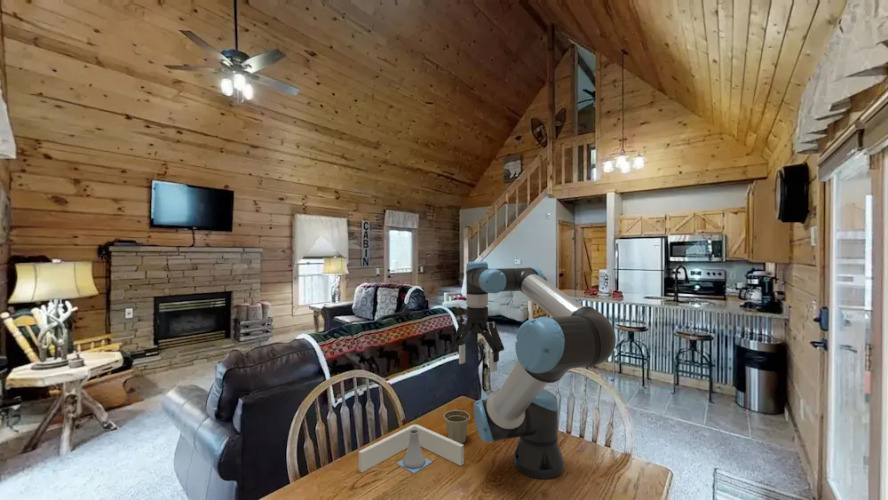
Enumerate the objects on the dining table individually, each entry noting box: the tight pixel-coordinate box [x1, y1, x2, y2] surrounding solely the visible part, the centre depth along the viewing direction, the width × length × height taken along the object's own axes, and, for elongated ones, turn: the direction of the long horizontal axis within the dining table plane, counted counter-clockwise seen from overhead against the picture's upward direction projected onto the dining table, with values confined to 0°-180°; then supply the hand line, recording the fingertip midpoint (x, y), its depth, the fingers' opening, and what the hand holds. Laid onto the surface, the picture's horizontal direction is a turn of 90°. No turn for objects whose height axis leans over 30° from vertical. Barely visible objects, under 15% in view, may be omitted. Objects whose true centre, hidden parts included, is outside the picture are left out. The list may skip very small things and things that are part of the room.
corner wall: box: [358, 423, 465, 473], centre depth 117 cm, size 22×24×6 cm
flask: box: [402, 429, 426, 468], centre depth 119 cm, size 7×7×10 cm
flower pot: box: [443, 409, 471, 444], centre depth 134 cm, size 9×9×9 cm
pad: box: [396, 457, 433, 475], centre depth 119 cm, size 8×8×1 cm
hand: (477, 367), depth 131 cm, fingers open, 13 cm apart
